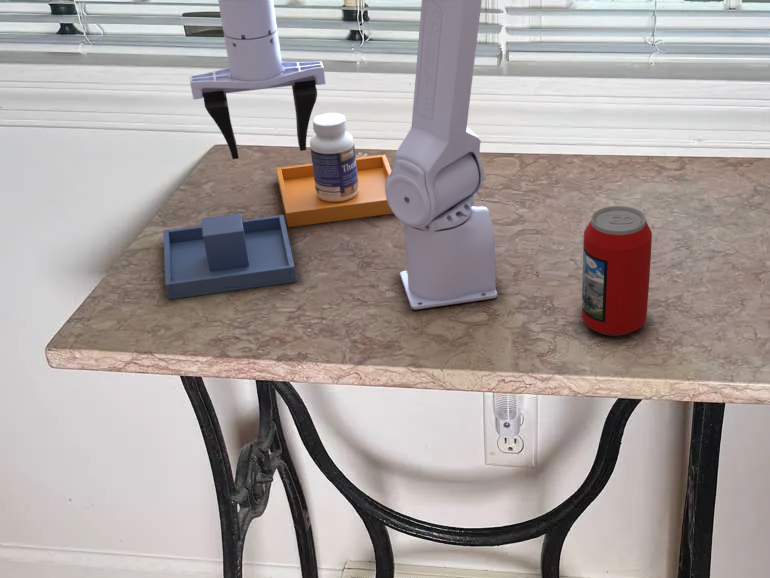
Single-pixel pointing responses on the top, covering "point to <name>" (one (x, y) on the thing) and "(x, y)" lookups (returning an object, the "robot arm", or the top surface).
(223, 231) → the blue block
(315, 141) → the pill bottle
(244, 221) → the blue tray
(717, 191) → the top surface
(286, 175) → the amber tray
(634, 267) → the beverage can
